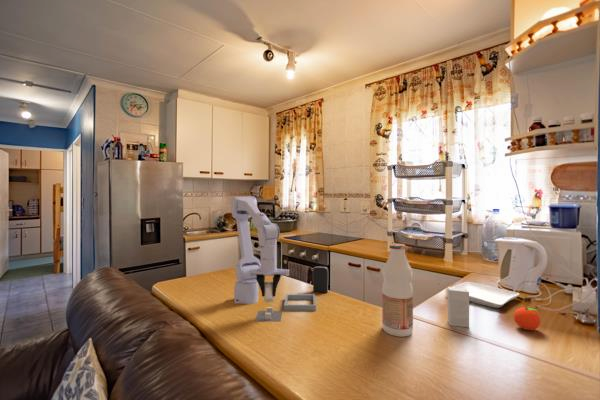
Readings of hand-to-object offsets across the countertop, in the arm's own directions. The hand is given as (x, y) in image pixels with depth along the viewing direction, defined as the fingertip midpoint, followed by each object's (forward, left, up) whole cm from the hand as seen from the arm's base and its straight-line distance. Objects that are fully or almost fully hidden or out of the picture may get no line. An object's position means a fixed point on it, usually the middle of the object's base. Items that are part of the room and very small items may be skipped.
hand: (268, 295), depth 105 cm
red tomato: (+86, -8, -8) cm, 87 cm away
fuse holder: (0, 0, -8) cm, 8 cm away
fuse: (0, 0, -2) cm, 2 cm away
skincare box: (+65, -4, -8) cm, 66 cm away
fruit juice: (+43, -9, -8) cm, 45 cm away
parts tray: (+11, +11, -8) cm, 18 cm away
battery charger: (+20, +29, -8) cm, 36 cm away
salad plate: (+88, +21, -9) cm, 91 cm away
